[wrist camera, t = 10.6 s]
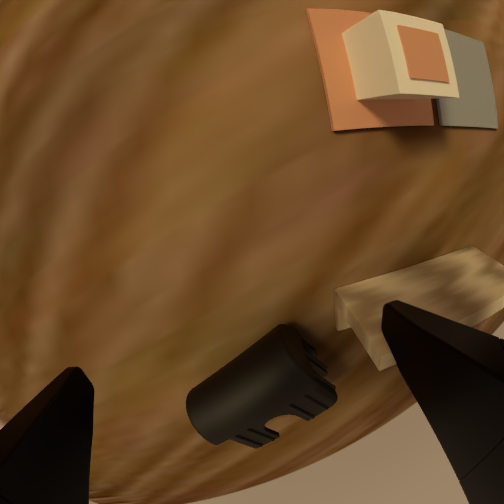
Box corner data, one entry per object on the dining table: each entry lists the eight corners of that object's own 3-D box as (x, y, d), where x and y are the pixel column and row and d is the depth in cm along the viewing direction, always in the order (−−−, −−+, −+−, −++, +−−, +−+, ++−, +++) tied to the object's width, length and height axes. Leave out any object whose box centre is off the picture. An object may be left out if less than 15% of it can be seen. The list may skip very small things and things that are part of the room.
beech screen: (471, 245, 22) (526, 281, 15) (465, 279, 24) (514, 318, 17) (334, 288, 22) (381, 355, 15) (335, 327, 23) (374, 394, 16)
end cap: (270, 304, 22) (291, 366, 16) (321, 347, 24) (347, 403, 18) (186, 371, 24) (183, 433, 17) (241, 402, 26) (249, 458, 20)
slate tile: (480, 43, 14) (483, 42, 14) (495, 128, 18) (498, 128, 18) (418, 23, 14) (421, 22, 14) (439, 125, 18) (442, 125, 17)
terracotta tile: (409, 21, 14) (412, 20, 13) (430, 125, 17) (434, 125, 17) (305, 10, 14) (307, 8, 13) (331, 130, 17) (334, 130, 17)
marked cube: (399, 36, 14) (443, 21, 9) (413, 99, 16) (461, 97, 12) (341, 31, 14) (379, 6, 9) (356, 100, 16) (401, 93, 11)
